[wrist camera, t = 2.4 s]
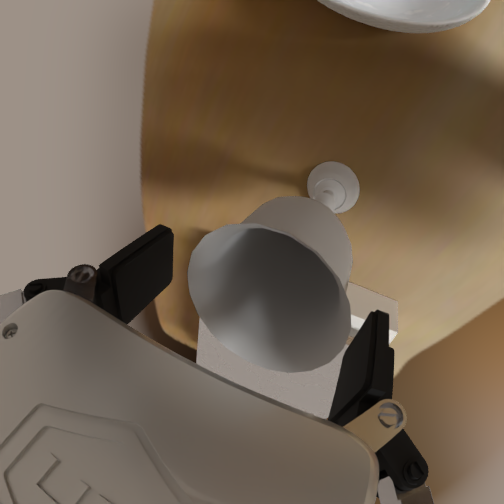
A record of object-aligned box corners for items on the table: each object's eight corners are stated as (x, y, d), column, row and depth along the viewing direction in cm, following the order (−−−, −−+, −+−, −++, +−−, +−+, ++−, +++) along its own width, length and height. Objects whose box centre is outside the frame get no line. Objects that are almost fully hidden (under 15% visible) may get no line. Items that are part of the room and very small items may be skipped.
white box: (385, 316, 27) (382, 357, 22) (317, 405, 38) (306, 436, 34) (231, 254, 31) (202, 283, 26) (213, 360, 43) (195, 387, 38)
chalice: (376, 217, 25) (363, 372, 10) (311, 229, 28) (229, 368, 14) (356, 141, 22) (323, 202, 8) (287, 160, 26) (161, 242, 11)
